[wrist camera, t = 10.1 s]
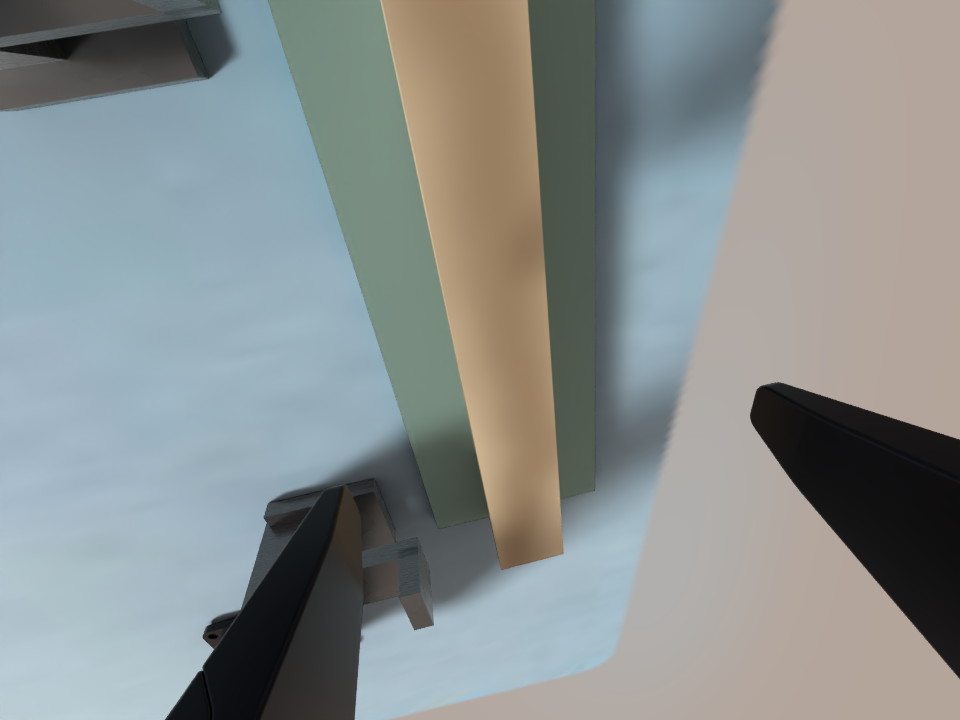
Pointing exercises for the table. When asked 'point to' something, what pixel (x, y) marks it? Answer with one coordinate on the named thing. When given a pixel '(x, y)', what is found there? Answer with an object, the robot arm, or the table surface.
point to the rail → (487, 244)
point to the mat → (406, 240)
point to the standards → (150, 64)
